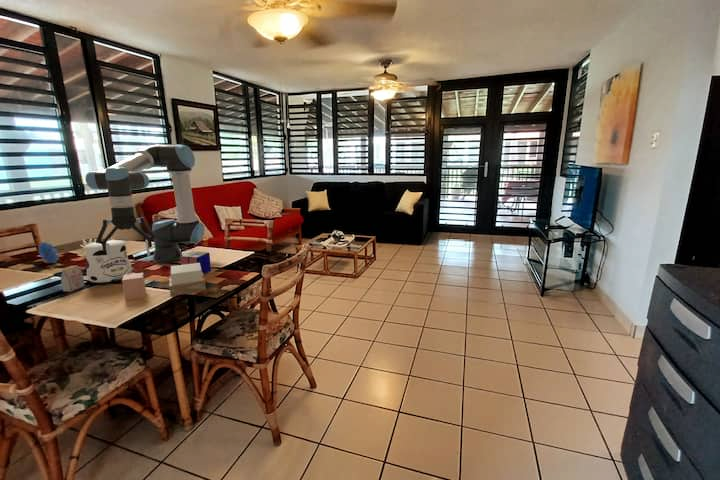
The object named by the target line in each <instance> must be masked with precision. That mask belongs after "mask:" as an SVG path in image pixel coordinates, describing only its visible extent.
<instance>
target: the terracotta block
mask: <svg viewBox="0 0 720 480" xmlns="http://www.w3.org/2000/svg"><path fill="white" fill-rule="evenodd" d="M121 282H122V287H123V294H124V299H125V301H131V300H138V299H142V298H143V299H144V298H146V294H147V288H146V282H145V275H144V272H136V273H131V274H128V275H124V276H123V279H122V280H121Z"/></svg>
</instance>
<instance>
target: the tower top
mask: <svg viewBox="0 0 720 480" xmlns="http://www.w3.org/2000/svg"><path fill="white" fill-rule="evenodd" d="M170 276H171V281H172V285H176V284H183V283H190V282H197V281H202V271H201V266H200V263H194V264H185V265H181V264H180V265H179V264H177V265H171V266H170Z"/></svg>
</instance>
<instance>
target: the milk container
mask: <svg viewBox="0 0 720 480" xmlns="http://www.w3.org/2000/svg"><path fill="white" fill-rule="evenodd" d="M106 243H109V247H110V253H111V260H108V257H107V252H104V251H103V247H102V244H100V243H96V241H95V242H90V243H88V244H86V245H85V246H84V252H85V257H86V258H85V259H86V262H87V269H86V276H87V278H88V280H89V281H90V282H91V283H94V284H102V285H103V284H111V283H117V282H122V279H123V276H124V275H128V274H133V273H132V264H131V262H130V261H129V258H128V250H127V246H126V242H125V241H124V240H120V239H119V240H118V239H114V240H113V239H112V240H110V239H109V240H108V241H107V242H106Z"/></svg>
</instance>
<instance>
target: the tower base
mask: <svg viewBox="0 0 720 480" xmlns="http://www.w3.org/2000/svg"><path fill="white" fill-rule="evenodd" d="M168 277H169V278H168V279H169V280H168V281H169V282H168V283H169V284H168V285H169V287H168V288H169V294H170V297H174V296H179V295H187V294H192V293H200V292H205V291H207V289H206V288H207V287H206V279H205V275H204V274H203V272H202V281H197V282H190V283H183V284H176V285H172V281H171V275H170V276H168Z"/></svg>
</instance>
